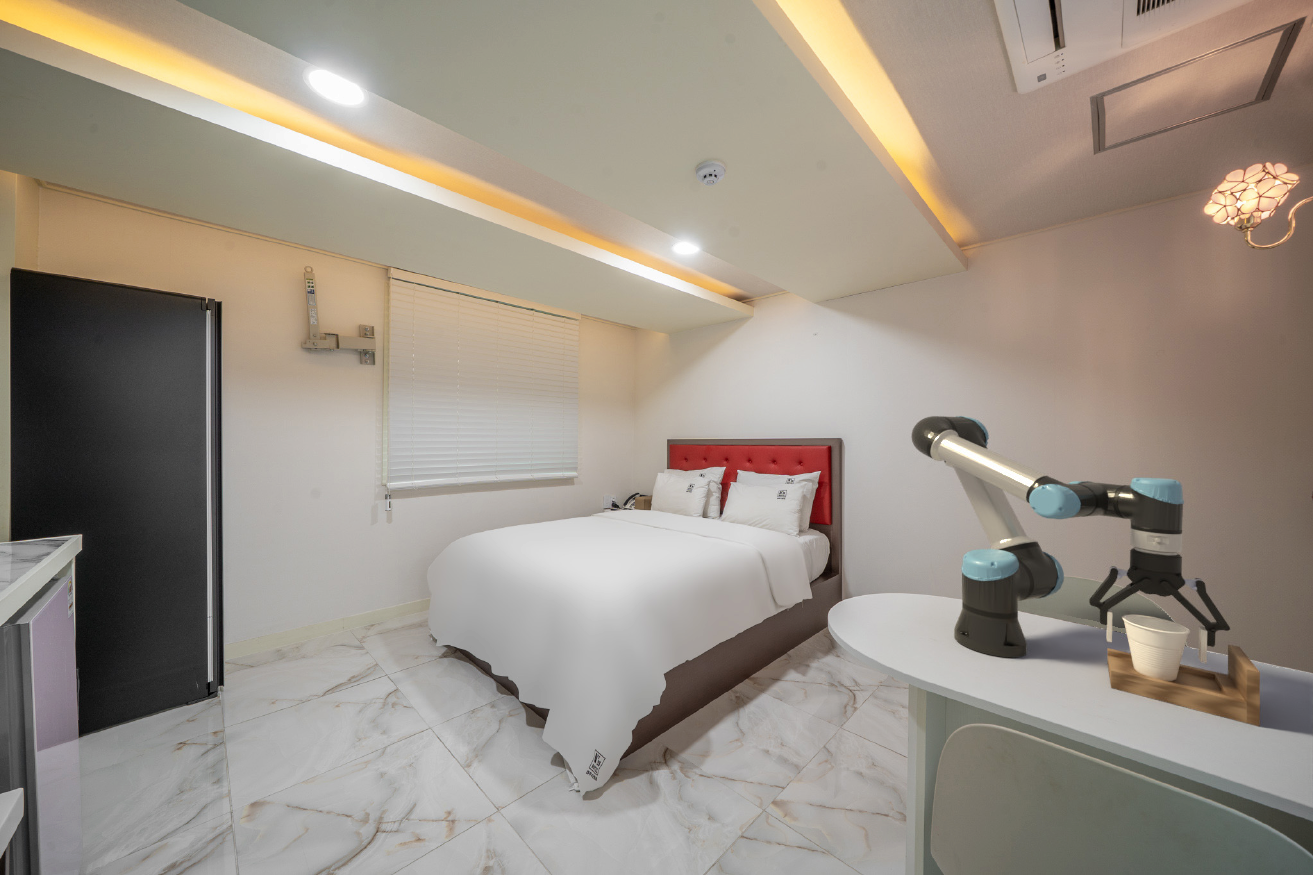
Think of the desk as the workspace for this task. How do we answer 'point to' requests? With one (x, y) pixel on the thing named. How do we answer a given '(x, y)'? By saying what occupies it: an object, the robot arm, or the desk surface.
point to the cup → (1155, 645)
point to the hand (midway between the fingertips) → (1153, 649)
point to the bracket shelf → (1196, 686)
